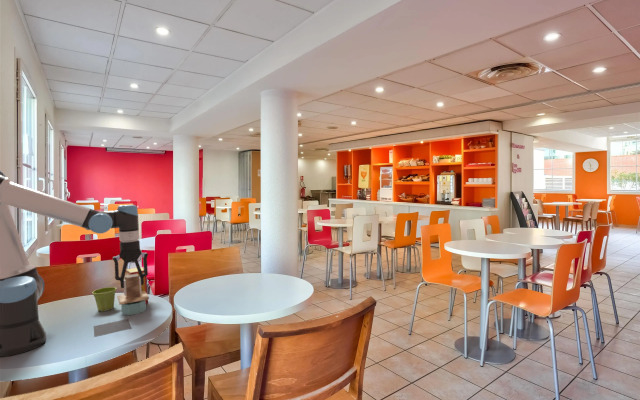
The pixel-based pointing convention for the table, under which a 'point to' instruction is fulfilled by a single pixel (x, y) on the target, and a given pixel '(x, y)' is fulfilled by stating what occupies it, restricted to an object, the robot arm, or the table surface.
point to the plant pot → (105, 298)
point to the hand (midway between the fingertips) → (132, 293)
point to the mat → (111, 327)
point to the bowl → (133, 307)
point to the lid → (132, 290)
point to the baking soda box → (135, 271)
